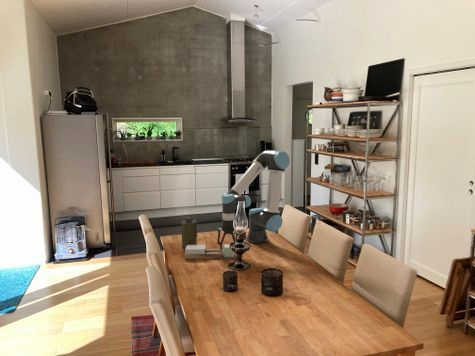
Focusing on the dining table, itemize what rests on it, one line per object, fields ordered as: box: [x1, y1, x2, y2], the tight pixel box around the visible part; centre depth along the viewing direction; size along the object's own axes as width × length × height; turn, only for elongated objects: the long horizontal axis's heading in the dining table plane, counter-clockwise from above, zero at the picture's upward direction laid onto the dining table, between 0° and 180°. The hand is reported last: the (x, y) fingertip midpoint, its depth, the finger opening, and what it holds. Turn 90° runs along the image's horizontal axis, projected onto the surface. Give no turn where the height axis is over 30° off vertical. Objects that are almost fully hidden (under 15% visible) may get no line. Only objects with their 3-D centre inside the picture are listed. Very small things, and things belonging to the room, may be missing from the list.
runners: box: [184, 248, 223, 260], centre depth 240 cm, size 9×23×3 cm, turn 91°
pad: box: [222, 252, 237, 259], centre depth 241 cm, size 10×8×1 cm
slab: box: [184, 244, 207, 255], centre depth 240 cm, size 9×12×3 cm
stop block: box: [223, 244, 234, 257], centre depth 240 cm, size 6×6×6 cm
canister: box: [180, 216, 198, 249], centre depth 259 cm, size 11×10×20 cm
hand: (228, 254), depth 241 cm, fingers open, 7 cm apart
